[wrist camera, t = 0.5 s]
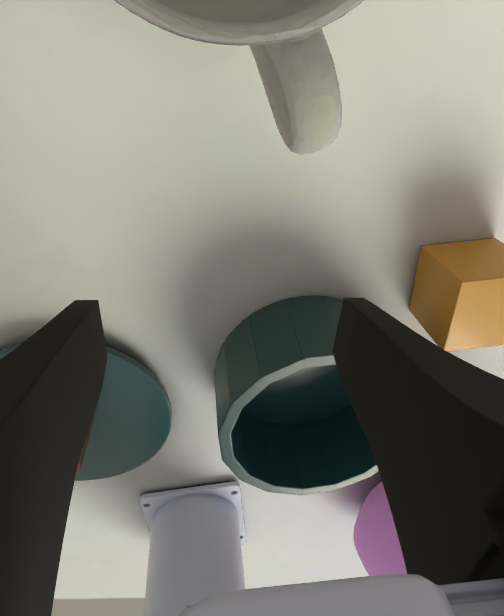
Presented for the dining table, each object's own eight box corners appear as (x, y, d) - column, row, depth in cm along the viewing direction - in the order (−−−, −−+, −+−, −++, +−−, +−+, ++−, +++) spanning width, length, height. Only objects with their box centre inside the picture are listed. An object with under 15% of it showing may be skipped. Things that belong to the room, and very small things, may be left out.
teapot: (462, 538, 43) (544, 689, 33) (332, 557, 42) (376, 720, 32) (526, 408, 32) (679, 575, 22) (353, 428, 31) (430, 615, 21)
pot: (374, 415, 30) (405, 480, 26) (223, 436, 30) (229, 506, 25) (395, 285, 24) (442, 340, 20) (205, 306, 23) (208, 369, 19)
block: (475, 302, 26) (520, 343, 22) (408, 309, 25) (442, 352, 22) (495, 237, 23) (548, 272, 20) (421, 245, 23) (461, 281, 19)
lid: (184, 454, 30) (183, 512, 26) (14, 478, 29) (-13, 541, 26) (152, 320, 23) (145, 372, 20) (-71, 345, 23) (-124, 405, 19)
